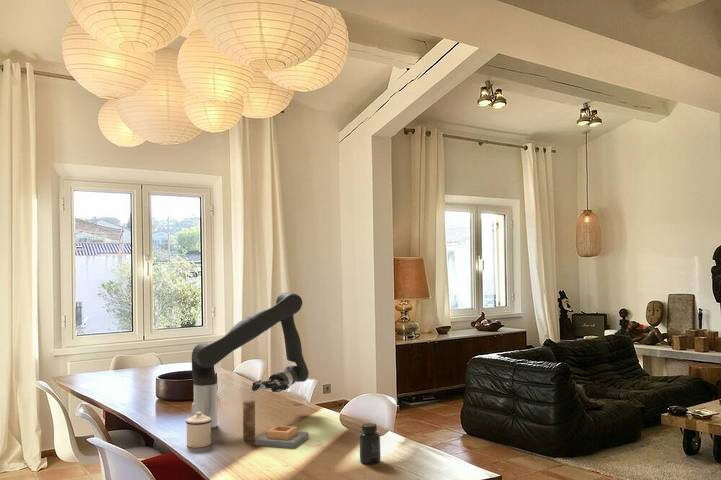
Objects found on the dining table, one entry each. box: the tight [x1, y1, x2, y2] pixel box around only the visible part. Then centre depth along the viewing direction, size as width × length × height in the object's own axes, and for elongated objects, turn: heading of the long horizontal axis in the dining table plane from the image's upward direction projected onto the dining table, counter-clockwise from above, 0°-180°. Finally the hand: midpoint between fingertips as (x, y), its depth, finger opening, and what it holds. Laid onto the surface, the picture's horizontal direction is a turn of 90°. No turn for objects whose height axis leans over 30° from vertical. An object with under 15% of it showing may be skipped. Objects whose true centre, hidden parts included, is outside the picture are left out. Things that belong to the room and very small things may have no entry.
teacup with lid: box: [185, 412, 212, 449], centre depth 225 cm, size 12×9×12 cm
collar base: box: [254, 424, 309, 449], centre depth 227 cm, size 15×14×4 cm
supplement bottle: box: [358, 422, 382, 466], centre depth 202 cm, size 7×7×12 cm
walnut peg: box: [242, 399, 256, 442], centre depth 230 cm, size 4×4×14 cm
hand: (263, 389), depth 241 cm, fingers open, 8 cm apart
